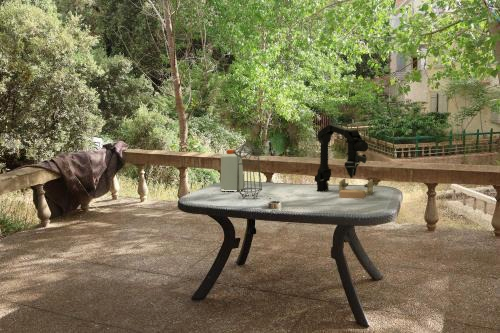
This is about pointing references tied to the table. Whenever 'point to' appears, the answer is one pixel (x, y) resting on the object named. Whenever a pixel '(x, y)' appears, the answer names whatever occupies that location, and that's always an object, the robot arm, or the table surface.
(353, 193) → the tan rectangular block
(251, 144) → the geometric lantern
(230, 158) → the plastic bottle
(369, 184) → the shelf frame
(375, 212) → the table surface
